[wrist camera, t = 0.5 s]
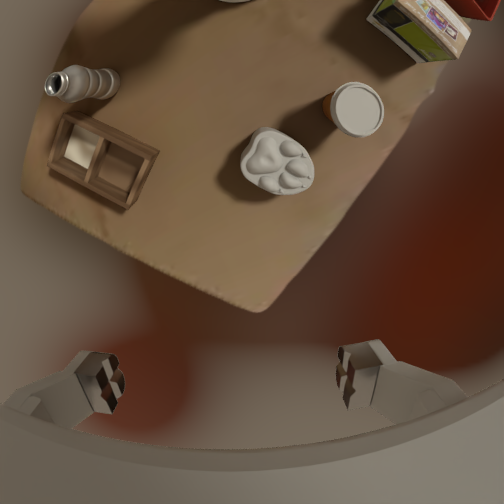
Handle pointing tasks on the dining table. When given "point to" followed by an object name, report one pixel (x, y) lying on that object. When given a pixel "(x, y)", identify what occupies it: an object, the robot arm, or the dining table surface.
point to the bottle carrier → (101, 158)
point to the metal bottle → (82, 83)
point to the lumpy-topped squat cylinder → (277, 163)
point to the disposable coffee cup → (354, 109)
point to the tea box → (422, 28)
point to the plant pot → (474, 8)
